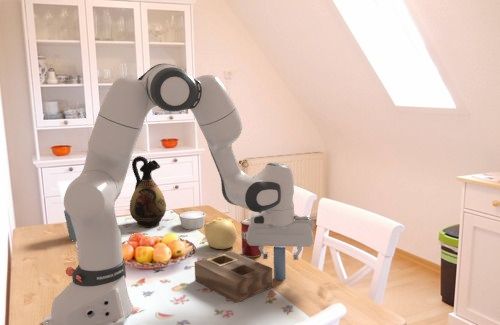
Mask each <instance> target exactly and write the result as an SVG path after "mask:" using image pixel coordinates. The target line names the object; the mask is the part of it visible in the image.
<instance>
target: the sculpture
mask: <svg viewBox="0 0 500 325" xmlns="http://www.w3.org/2000/svg"><path fill="white" fill-rule="evenodd" d="M233 222H234V220H233V219H231V218H223V217H215V218H213V220H211V221H208V222H206V223H204V225H203V227H204V236H205V240H206V242H207V244H208V245H209V247H211V248H213V249H217V250H218V249H220V250H226V249H229V248H231V247H233V246H234V245H235V243H236V241H237V239H238V232H237V229H236V227H235V225H234V223H233Z"/></svg>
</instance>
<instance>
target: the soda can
mask: <svg viewBox="0 0 500 325" xmlns="http://www.w3.org/2000/svg"><path fill="white" fill-rule="evenodd" d="M250 223H251V222H250V218H248V219H244V220H242V221H241V224H240V228H241V230H240V231H241V236H240V237H241V255H242V256H245V257H247V258H258V257H260V256H261V255H263V254H262V253H261V252H260V250H259V246H250V245H249V244H248V243H247V232H248V227H249V225H250Z"/></svg>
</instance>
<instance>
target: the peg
mask: <svg viewBox="0 0 500 325" xmlns="http://www.w3.org/2000/svg"><path fill="white" fill-rule="evenodd" d="M286 273H287V272H286V246H273V279H274V280H275V281H278V282H279V281H280V282H281V281H285V280H286V278H287V277H286Z"/></svg>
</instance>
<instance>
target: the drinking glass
mask: <svg viewBox="0 0 500 325" xmlns="http://www.w3.org/2000/svg"><path fill="white" fill-rule="evenodd" d="M63 213H64V218H65V221H66V222H65V223H66V228H67V233H68V237H69V240H70V241H72V240H73V242H77V241H76V235H75V231H74V228H73V225H72V222H71V219H70V215H69V214H68V213H67V212H66V210H65V209H64V210H63Z"/></svg>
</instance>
